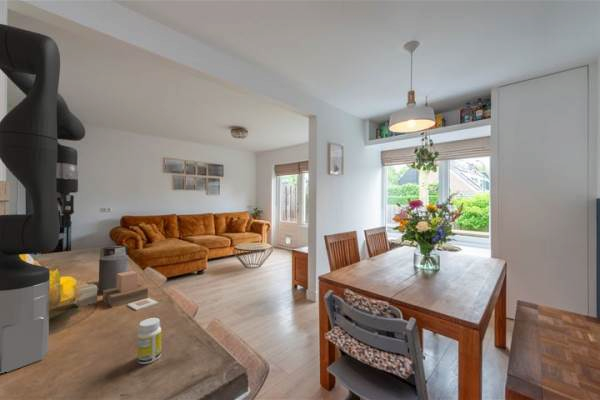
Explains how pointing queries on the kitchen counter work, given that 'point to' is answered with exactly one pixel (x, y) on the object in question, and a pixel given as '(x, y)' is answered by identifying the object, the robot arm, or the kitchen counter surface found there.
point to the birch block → (87, 295)
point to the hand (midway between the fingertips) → (62, 226)
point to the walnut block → (124, 296)
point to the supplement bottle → (149, 341)
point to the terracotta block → (126, 281)
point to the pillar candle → (111, 270)
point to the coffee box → (113, 251)
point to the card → (142, 304)
